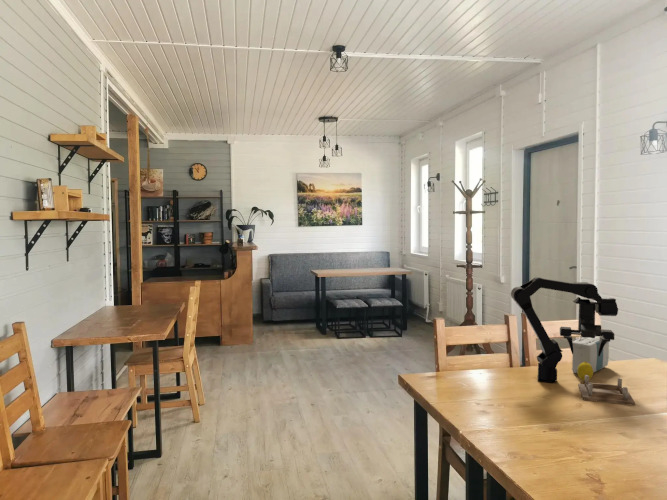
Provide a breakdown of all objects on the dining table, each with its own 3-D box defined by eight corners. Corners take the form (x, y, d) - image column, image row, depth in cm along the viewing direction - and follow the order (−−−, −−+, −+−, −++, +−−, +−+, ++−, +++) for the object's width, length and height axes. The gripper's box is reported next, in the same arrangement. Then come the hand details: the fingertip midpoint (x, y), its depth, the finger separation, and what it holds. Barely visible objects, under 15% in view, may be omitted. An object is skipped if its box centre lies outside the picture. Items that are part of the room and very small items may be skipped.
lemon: (589, 379, 201) (589, 359, 201) (595, 384, 196) (595, 363, 195) (574, 379, 202) (575, 359, 201) (580, 383, 196) (580, 363, 196)
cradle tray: (582, 399, 178) (583, 385, 178) (578, 386, 193) (578, 373, 193) (635, 405, 173) (635, 390, 172) (626, 391, 188) (626, 377, 187)
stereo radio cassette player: (589, 377, 204) (590, 328, 203) (569, 373, 210) (570, 325, 209) (609, 367, 218) (610, 321, 217) (589, 364, 224) (590, 319, 224)
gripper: (561, 316, 193) (560, 357, 194) (617, 320, 186) (616, 362, 187) (560, 312, 203) (558, 350, 204) (612, 315, 197) (611, 355, 198)
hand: (585, 354), depth 198 cm, fingers open, 9 cm apart
